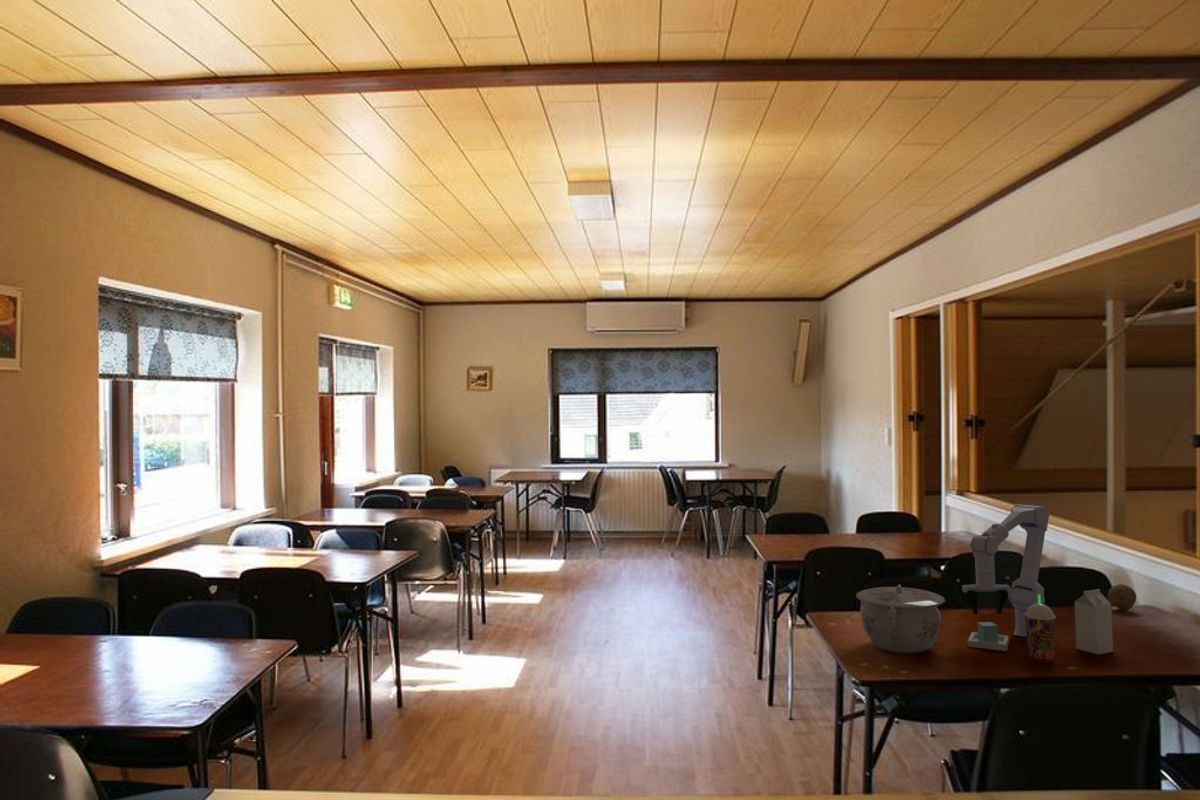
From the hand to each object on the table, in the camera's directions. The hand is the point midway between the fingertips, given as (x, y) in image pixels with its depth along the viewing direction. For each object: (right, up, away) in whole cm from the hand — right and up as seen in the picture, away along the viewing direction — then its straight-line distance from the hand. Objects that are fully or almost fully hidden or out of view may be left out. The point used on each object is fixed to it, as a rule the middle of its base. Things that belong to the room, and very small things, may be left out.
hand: (987, 613), depth 255 cm
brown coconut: (+69, -9, +35) cm, 78 cm away
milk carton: (+29, -9, -11) cm, 32 cm away
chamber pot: (-29, -11, -2) cm, 31 cm away
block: (0, -9, -1) cm, 9 cm away
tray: (0, -10, -1) cm, 10 cm away
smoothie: (+7, -9, -19) cm, 22 cm away
